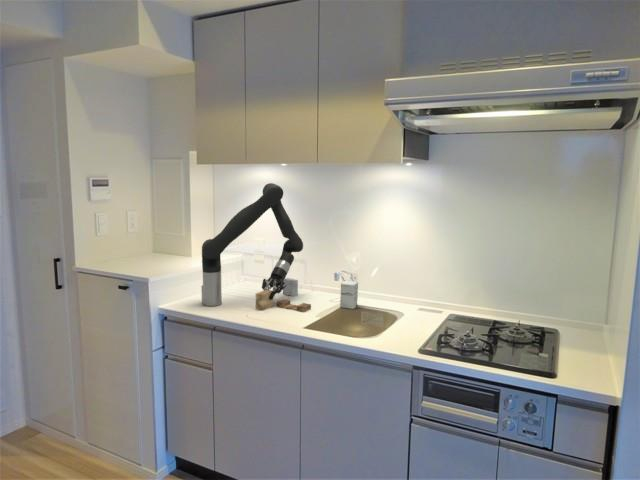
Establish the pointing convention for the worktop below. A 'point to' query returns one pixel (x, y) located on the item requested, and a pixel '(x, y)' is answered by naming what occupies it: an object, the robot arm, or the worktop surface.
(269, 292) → the oak crosspiece
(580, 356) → the worktop surface
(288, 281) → the medicine box
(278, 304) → the notched beam
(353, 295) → the supplement box
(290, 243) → the robot arm
